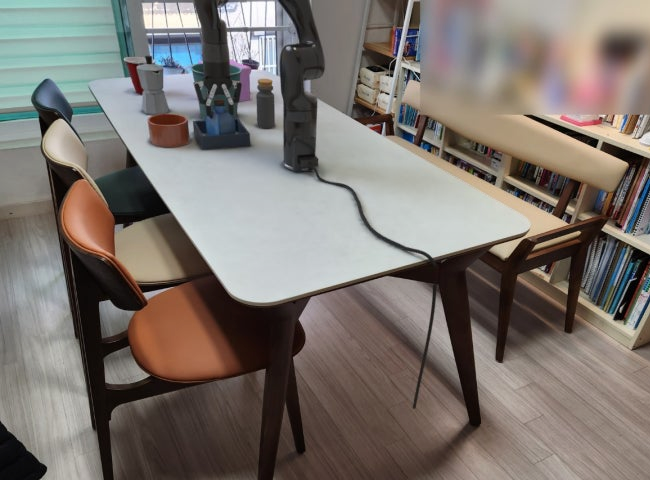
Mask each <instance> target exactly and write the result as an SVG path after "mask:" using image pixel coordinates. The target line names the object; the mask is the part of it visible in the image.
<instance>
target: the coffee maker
mask: <svg viewBox="0 0 650 480" xmlns="http://www.w3.org/2000/svg"><path fill="white" fill-rule="evenodd" d="M144 58H145V59H146V63H139V66H137V72H138V76H139V79H140V83H141V86H142V89H144V91H143V94H142V99H141V100H142V101H141V102H142V105H141V106H142V107H141V110H142V113H143V114H145V115H148V116H149V115H150V116H154V115H158V114H169V112H170V108H169V104H168V102H167V98H166V94H165V91H164V90H163V89H164V66H163V65H159V64H156V63H155V64H152V59H153V56H152V55H144Z"/></svg>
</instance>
